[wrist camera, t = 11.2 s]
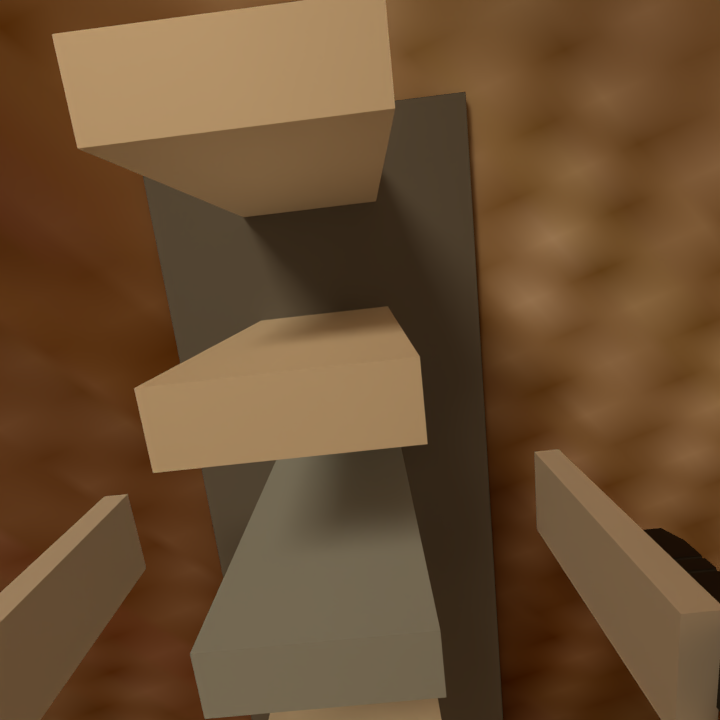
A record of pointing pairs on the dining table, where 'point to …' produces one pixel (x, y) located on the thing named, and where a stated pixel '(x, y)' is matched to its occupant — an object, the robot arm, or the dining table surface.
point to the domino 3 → (324, 595)
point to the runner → (415, 316)
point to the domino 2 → (288, 393)
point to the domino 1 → (240, 102)
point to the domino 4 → (369, 712)
